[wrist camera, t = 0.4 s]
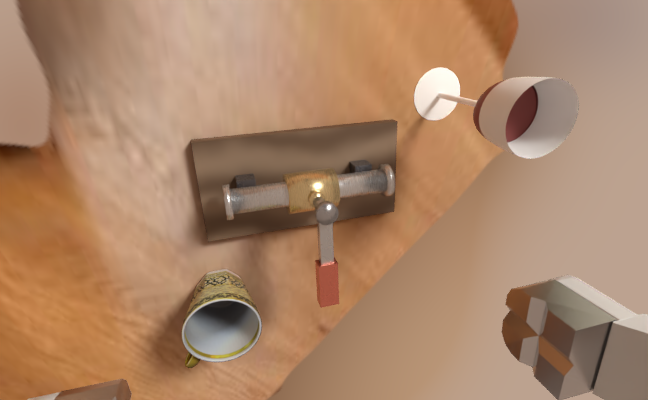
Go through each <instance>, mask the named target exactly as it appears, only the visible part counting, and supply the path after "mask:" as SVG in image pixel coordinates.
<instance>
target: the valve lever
mask: <svg viewBox="0 0 648 400" xmlns="http://www.w3.org/2000/svg"><path fill="white" fill-rule="evenodd" d="M313 205H314V206H315V211H314V214H315V217H316V219H317V229H318V249H319V260H315V262H316V281H317V299H318V302H319V304H320V307H326V306H330V305H335V304H339V289H338V263H337V261H336V260H335V258H334V251H333V223H334V222H335V221H336V220H337V218H338V215H339V212H338V209H337V207H336V206H335V205H334V204H333V203H332V202H330V201H325V200H324V199H323V198H322V197H320V196H318V197H316V198H314V200H313Z"/></svg>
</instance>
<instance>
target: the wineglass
mask: <svg viewBox="0 0 648 400" xmlns="http://www.w3.org/2000/svg"><path fill="white" fill-rule="evenodd" d="M459 96H460V84H459V81H458V78H457V77H456V75H455V74H454V73H453V72H452V71H450V70H449V69H447V68H441V67H439V68H435V69H432V70H430V71H428V72H427V73H425V74H424V75H423V77H422V78H421V79H420V80H419V82H418V84H417V86H416V89H415V93H414V104H415V107H416V109H417V111H418V113H419V114H420V115H421V116H422V117H424V118H426V119H427V120H434V121H435V120H439V119H442V118H444V117H446V116H447V115H449V114H450V113H451V112H452V110H453V109H454V108H455V106H456V104H457V102H458V103H462V104H466V105H470V106H474V107H475V108H474V113H473V119H474V123H475V126H476V128H477V130H478V131H479V132H480V133H481V134H482V135H483V136H484V137H485V138H486V139H487V140H489V141H490V142H492V143H493V144H495V145H496V146H498V147H500V148H502V149H504V150H506V151H508V152H510V153H512V154H515V155H517V156H520V157H523V158H529V159H530V158H538V157H541V156H544V155H546V154H548V153H550V152H552V151H553V150H554V149H556V148H557V147H558V146H559V145H560V144H561V143H562V142H563V141H564V140H565V139H566V138H567V136H568V135H569V134H570V132H571V130H572V128H573V126H574V124H575V121H576V119H577V115H578V110H579V101H578V96H577V93H576V90H575V89H574V87H573V86H572V85H571V84H570V83H569V82H567V81H565V80H563V79H559V78H550V77H517V78H510V79H507V80H504V81H501V82H499V83H496V84H494V85H493V86H491V87H490V88H488V89H487V90H486V91H485V92H484V93H483V94H482V95H481V96H480V98H479V99H478V101H476V100H471V99H467V98H462V97H459Z"/></svg>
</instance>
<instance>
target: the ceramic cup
mask: <svg viewBox="0 0 648 400" xmlns="http://www.w3.org/2000/svg"><path fill="white" fill-rule="evenodd" d="M261 330H262V321H261V317H260V315H259V312H258V310H257V308H256V306H255V304H254V302H253V300H252V298H251V297H250V295H249V294H248V291H247V289H246V287H245V285H244V284H243V281H242V280H241V278H240V276H238V275H237V274H235V273H233V272H231V271H229V270H228V269H222V270H217V271H212V272H208V273H207V274H206V275H205V276H204V277H203V279H202V280H201V281H200V282H199V284H198V285H197V286H196V289H195V292H194V295H193V298H192V300H191V303H190V307H189V309H188V311H187V313H186V316H185V319H184V323H183V327H182V341H183V344H184V346H185V348H186V349H187V350H188V351H189V352H188V354H187V357H186V360H185V366H186V367H188V368H193V367H194V366H195V365H197V364H198V362H199V361H200V359H201V360H204V361H208V362H225V361H230V360H233V359H236V358H238V357H240V356H242V355H244V354H245V353H247V352H248V351H249V350H250V349H251V348H252V347H253V346H254V345H255V344H256V342H257V341H258V339H259V337H260V334H261Z"/></svg>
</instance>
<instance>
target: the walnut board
mask: <svg viewBox="0 0 648 400" xmlns="http://www.w3.org/2000/svg"><path fill="white" fill-rule="evenodd" d="M396 144H397V121H395V120H384V121H374V122H364V123H354V124H344V125H334V126H324V127H314V128H304V129H294V130H284V131H274V132H264V133H254V134H244V135H234V136H224V137H214V138H204V139H194V140H191V146H192V152H193V158H194V163H195V169H196V175H197V181H198V186H199V192H200V198H201V203H202V209H203V215H204V221H205V226H206V232H207V238H208V241H214V240H220V239H227V238H233V237H239V236H245V235H252V234H258V233H264V232H270V231H276V230H283V229H289V228H295V227H301V226H307V225H314V224H317V219H316V217H315V214H314V211H315V210H313V211H306V212H300V213H293V214H289V213H288V211H287V208H286V207H281V208H274V209H267V210H260V211H254V212H247V213H240V214H233V216H234V219H232V220H227V215H226V209H225V202H224V195H223V188H222V185H227V184H229V189H234V188H237V186H236V178H235V176H236V175H244V174H252V173H253V174H254V177H255V180H256V186H257V185H264V184H272V183H279V182H283V174H288V173H296V172H304V171H312V170H320V169H328V168H333V169H334V170H335V172H336V174H337V175H340V174H348V173H350V161H357V160H367V161H368V162H369V163H371V164H372V170H377V169H378V167H379V165H382V164H389V165H390V166H391V168H392V170H393V173H394V177H395V173H396ZM394 202H395V191H394V193H393V195H391V196H383V195H382V194H381V193H376V194H369V195H362V196H355V197H349V198H342V199H340V203H339V206H338V207H337V209H338V212H339V215H338V218H337V220H336V221H339V220H345V219H351V218H357V217H363V216H370V215H376V214H382V213H388V212H394Z"/></svg>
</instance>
